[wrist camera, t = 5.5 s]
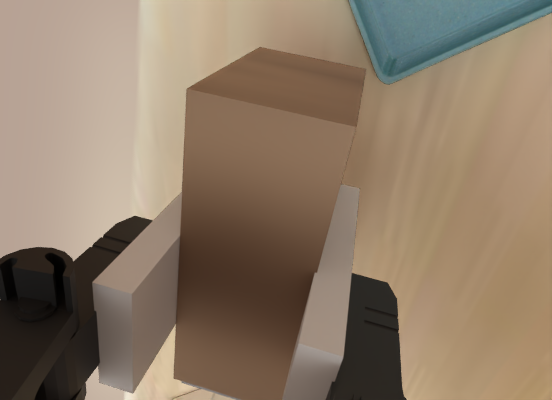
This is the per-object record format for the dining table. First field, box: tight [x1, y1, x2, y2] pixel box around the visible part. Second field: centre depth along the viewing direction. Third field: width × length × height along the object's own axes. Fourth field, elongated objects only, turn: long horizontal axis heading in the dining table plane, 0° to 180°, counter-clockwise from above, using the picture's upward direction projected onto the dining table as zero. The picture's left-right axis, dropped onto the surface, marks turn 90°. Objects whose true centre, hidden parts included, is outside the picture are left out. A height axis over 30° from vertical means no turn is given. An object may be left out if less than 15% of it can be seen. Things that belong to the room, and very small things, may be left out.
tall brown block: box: [174, 47, 366, 400], centre depth 13 cm, size 15×6×5 cm, turn 170°
